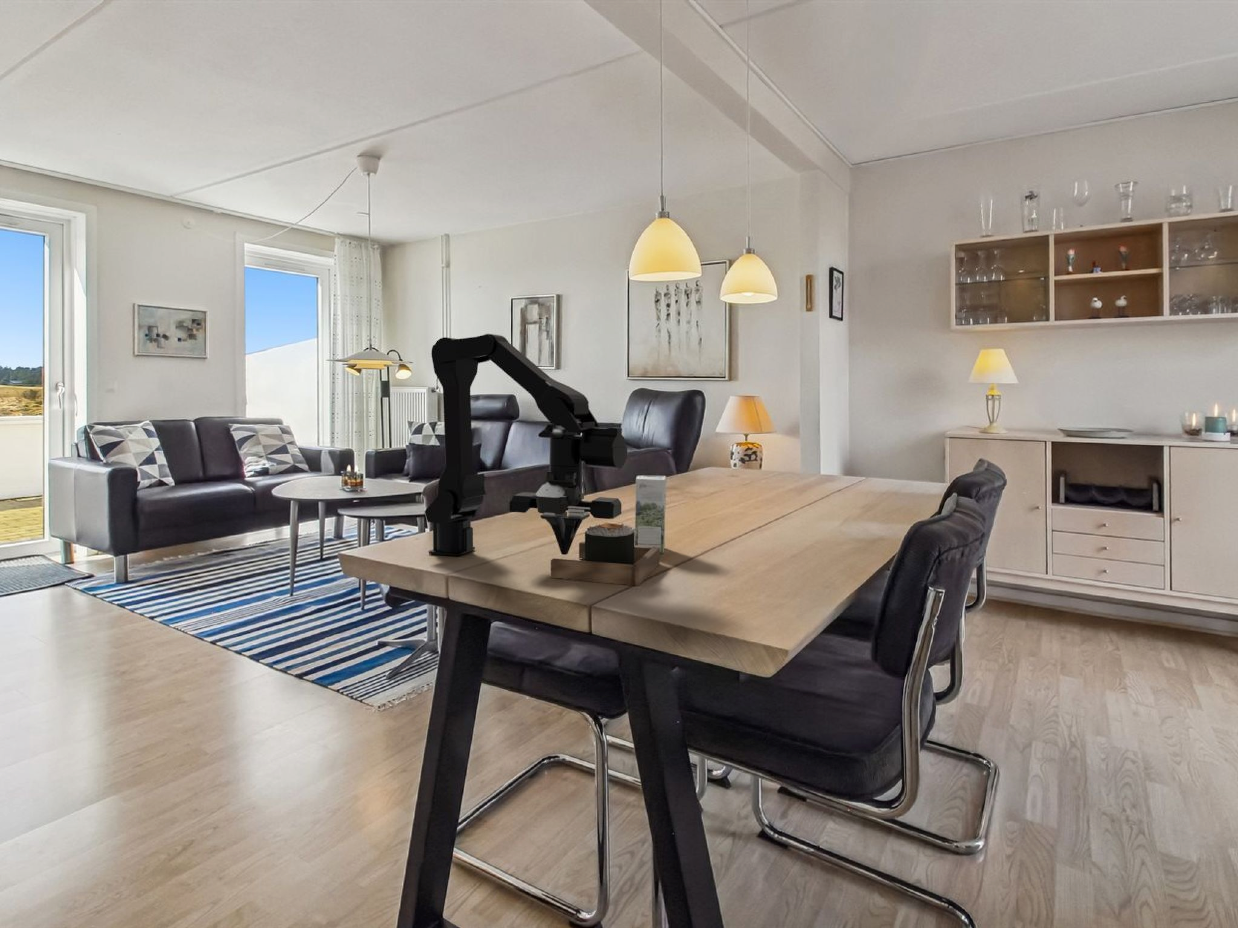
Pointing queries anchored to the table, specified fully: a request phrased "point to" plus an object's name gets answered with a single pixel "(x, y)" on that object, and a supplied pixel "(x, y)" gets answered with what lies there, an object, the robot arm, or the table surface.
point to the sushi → (610, 544)
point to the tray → (608, 567)
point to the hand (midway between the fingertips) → (564, 554)
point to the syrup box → (650, 511)
